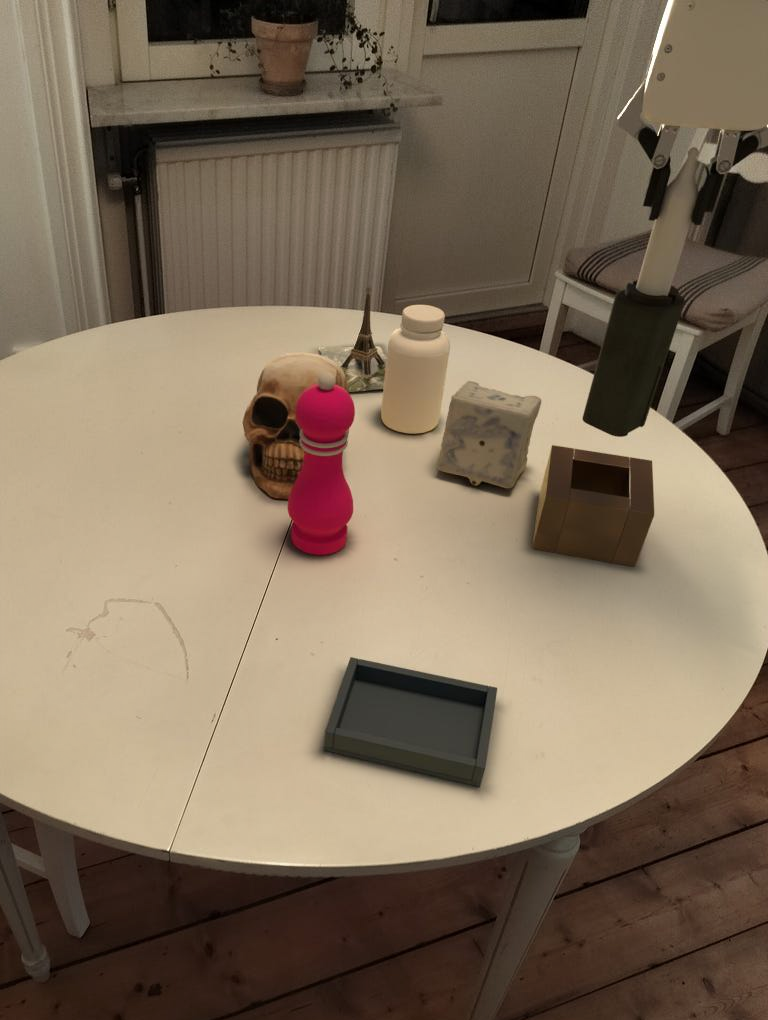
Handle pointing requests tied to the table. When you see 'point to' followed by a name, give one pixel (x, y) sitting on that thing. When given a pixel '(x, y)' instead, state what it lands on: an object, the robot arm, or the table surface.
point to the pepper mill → (322, 469)
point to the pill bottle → (415, 371)
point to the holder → (594, 505)
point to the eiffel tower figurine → (360, 357)
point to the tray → (412, 721)
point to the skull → (282, 418)
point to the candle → (644, 318)
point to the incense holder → (487, 435)
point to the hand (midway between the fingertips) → (674, 216)
